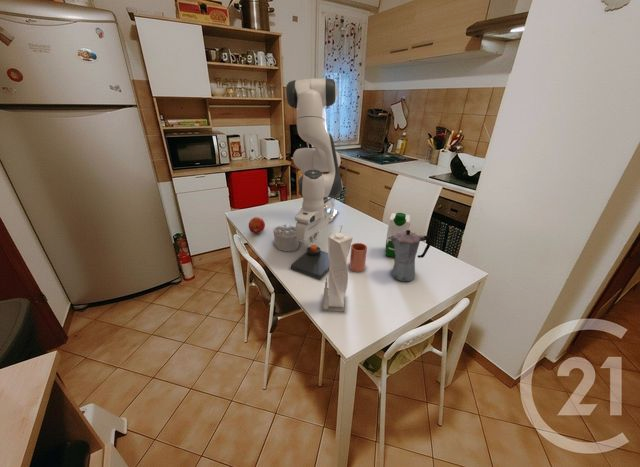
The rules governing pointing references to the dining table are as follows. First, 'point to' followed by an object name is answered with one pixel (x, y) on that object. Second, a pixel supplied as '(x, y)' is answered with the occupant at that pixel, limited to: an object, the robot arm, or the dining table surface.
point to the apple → (256, 225)
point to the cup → (358, 257)
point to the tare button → (313, 248)
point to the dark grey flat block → (313, 263)
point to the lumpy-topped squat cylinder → (286, 238)
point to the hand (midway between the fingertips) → (313, 241)
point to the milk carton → (396, 230)
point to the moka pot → (407, 254)
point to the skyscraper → (337, 272)
